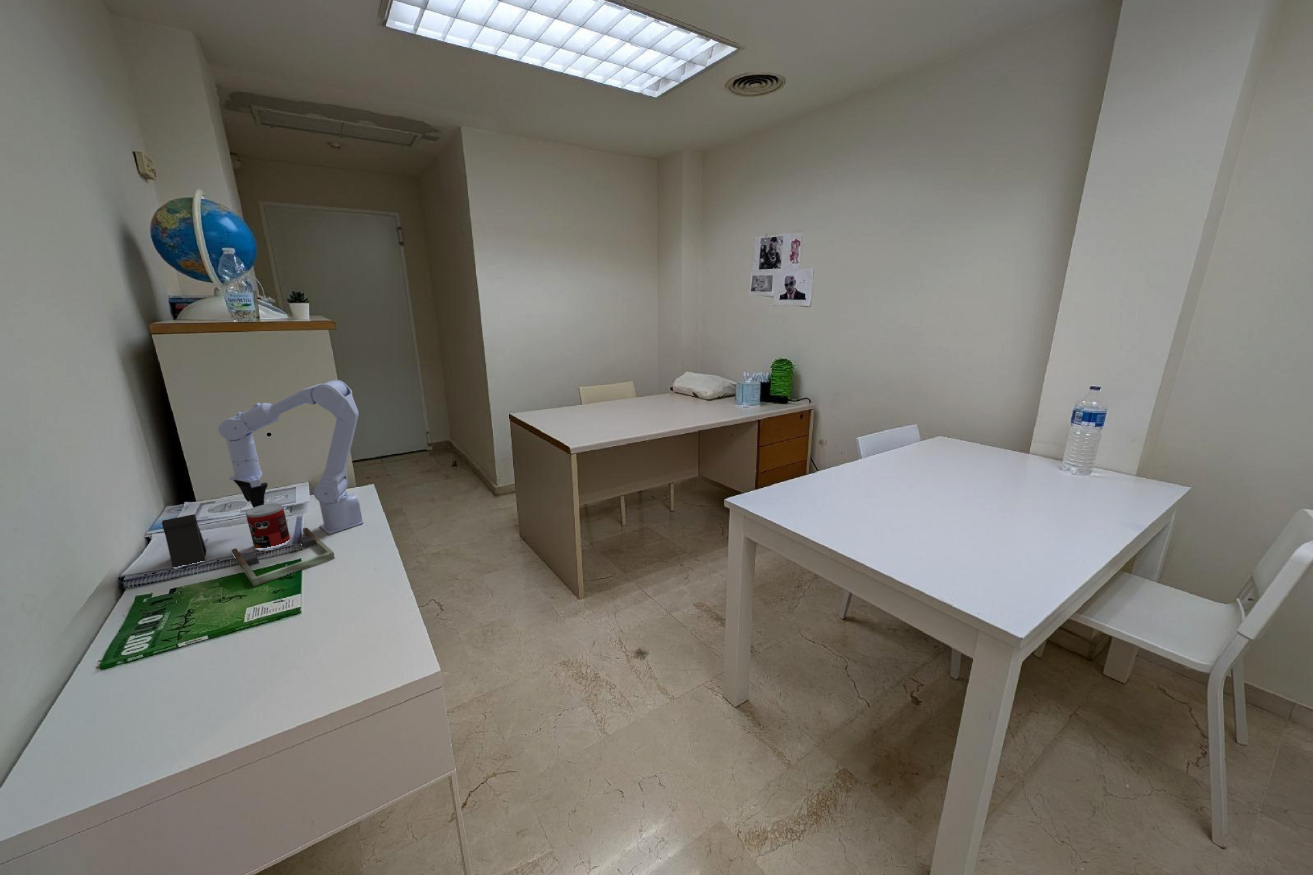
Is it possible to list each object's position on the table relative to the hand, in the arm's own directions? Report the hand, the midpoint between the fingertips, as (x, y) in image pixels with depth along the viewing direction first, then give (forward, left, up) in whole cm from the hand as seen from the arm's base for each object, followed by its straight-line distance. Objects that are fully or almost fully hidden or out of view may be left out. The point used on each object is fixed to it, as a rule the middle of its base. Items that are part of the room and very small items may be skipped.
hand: (255, 504), depth 136 cm
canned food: (0, +10, -10) cm, 14 cm away
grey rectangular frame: (0, +20, -10) cm, 22 cm away
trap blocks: (0, +17, -10) cm, 19 cm away
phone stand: (+16, +3, -10) cm, 19 cm away
